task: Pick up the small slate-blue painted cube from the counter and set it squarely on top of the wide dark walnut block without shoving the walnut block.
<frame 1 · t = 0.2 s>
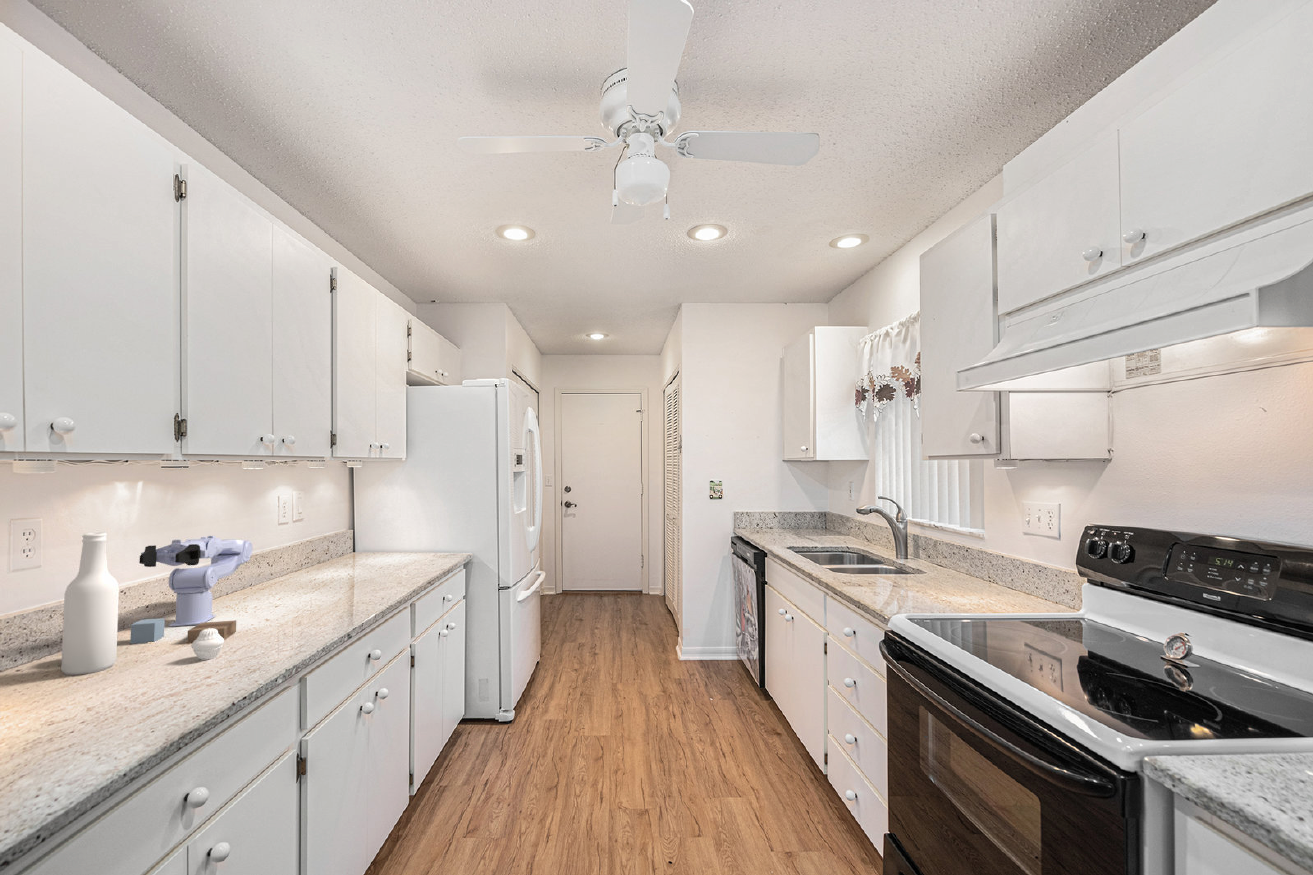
hand: (159, 558, 152), 21 cm above the worktop, tool horizontal, fingers open, 7 cm apart
muffin: (207, 658, 138), on the worktop
white bottle: (89, 670, 131), on the worktop
blue cube: (147, 640, 152), on the worktop
walnut base: (212, 638, 155), on the worktop
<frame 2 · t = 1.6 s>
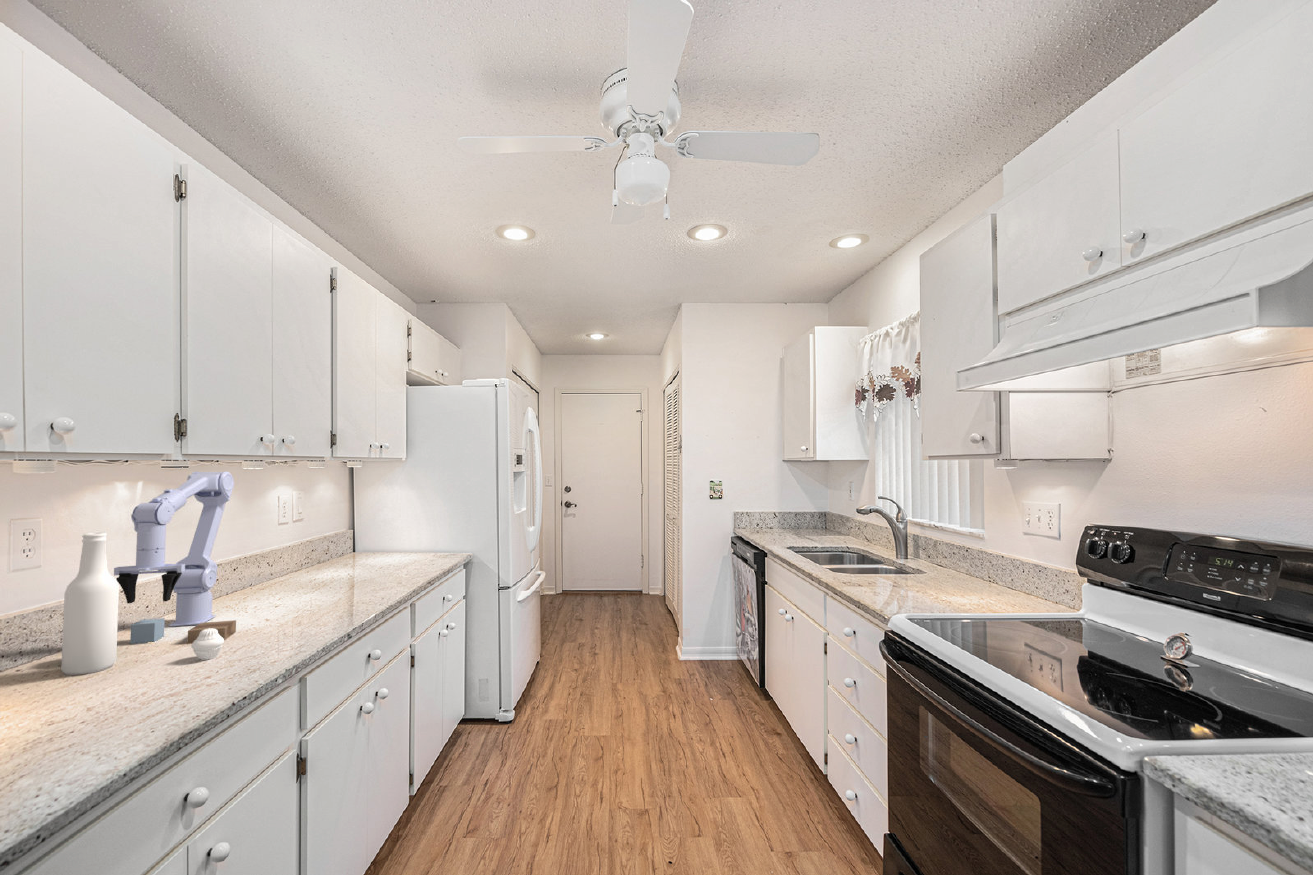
hand: (148, 601, 153), 10 cm above the worktop, tool pointing down, fingers open, 7 cm apart
nothing on the worktop moved.
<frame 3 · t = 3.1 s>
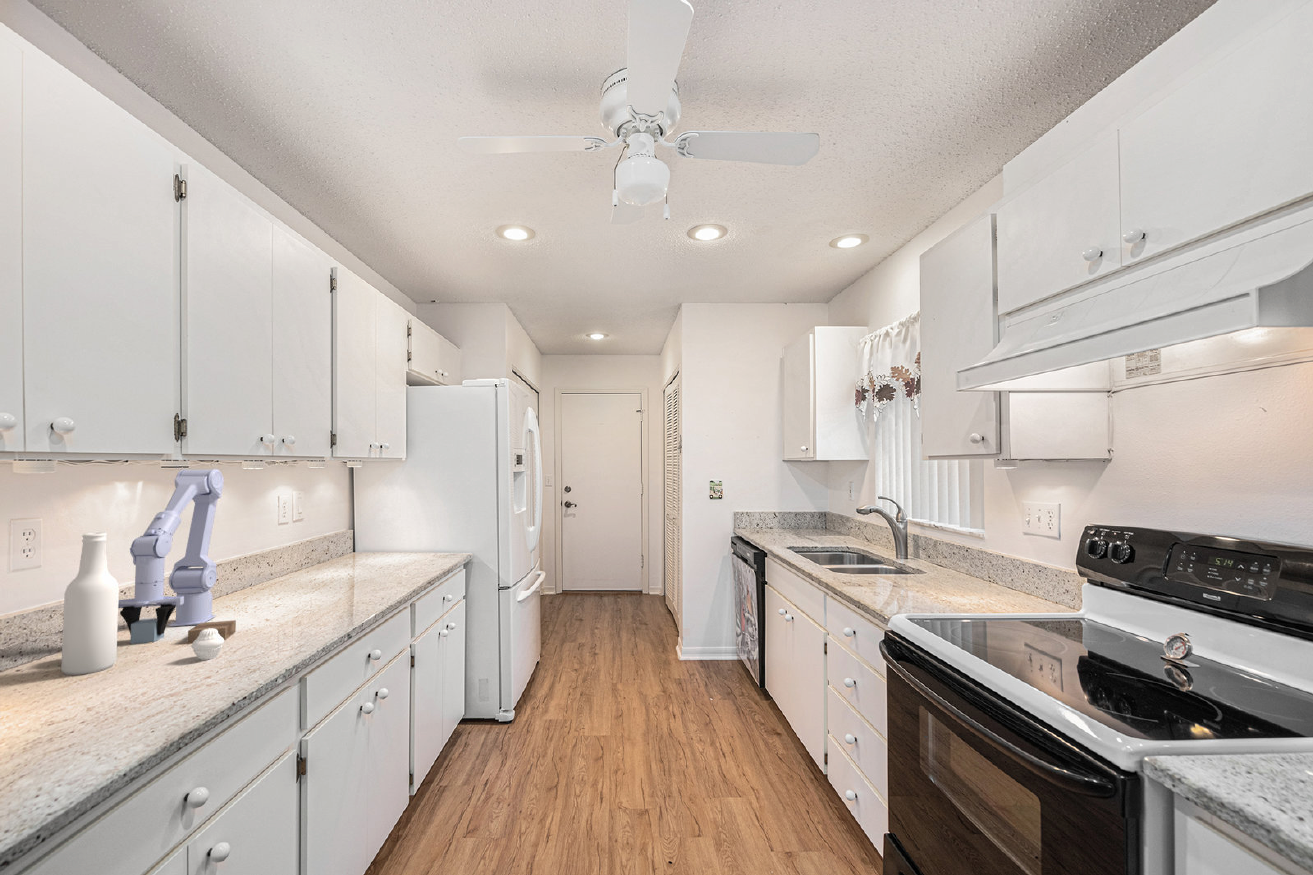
hand: (147, 634, 152), 1 cm above the worktop, tool pointing down, fingers closed on blue cube, 5 cm apart
blue cube: (147, 640, 152), on the worktop, touching gripper
everything else where it was.
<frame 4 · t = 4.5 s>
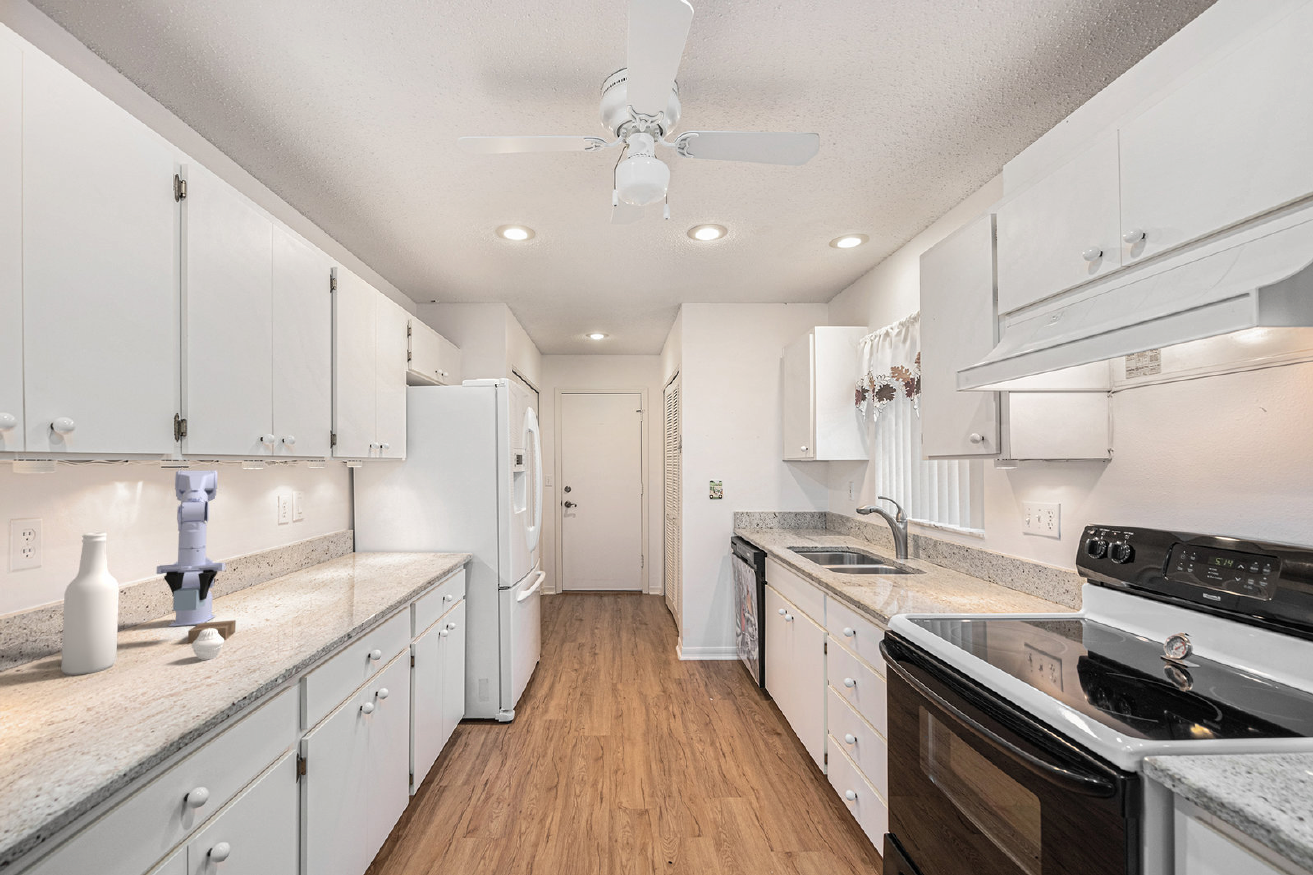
hand: (190, 600, 154), 10 cm above the worktop, tool pointing down, fingers closed on blue cube, 5 cm apart
blue cube: (189, 608, 154), point 8 cm above the worktop, touching gripper
everything else where it was.
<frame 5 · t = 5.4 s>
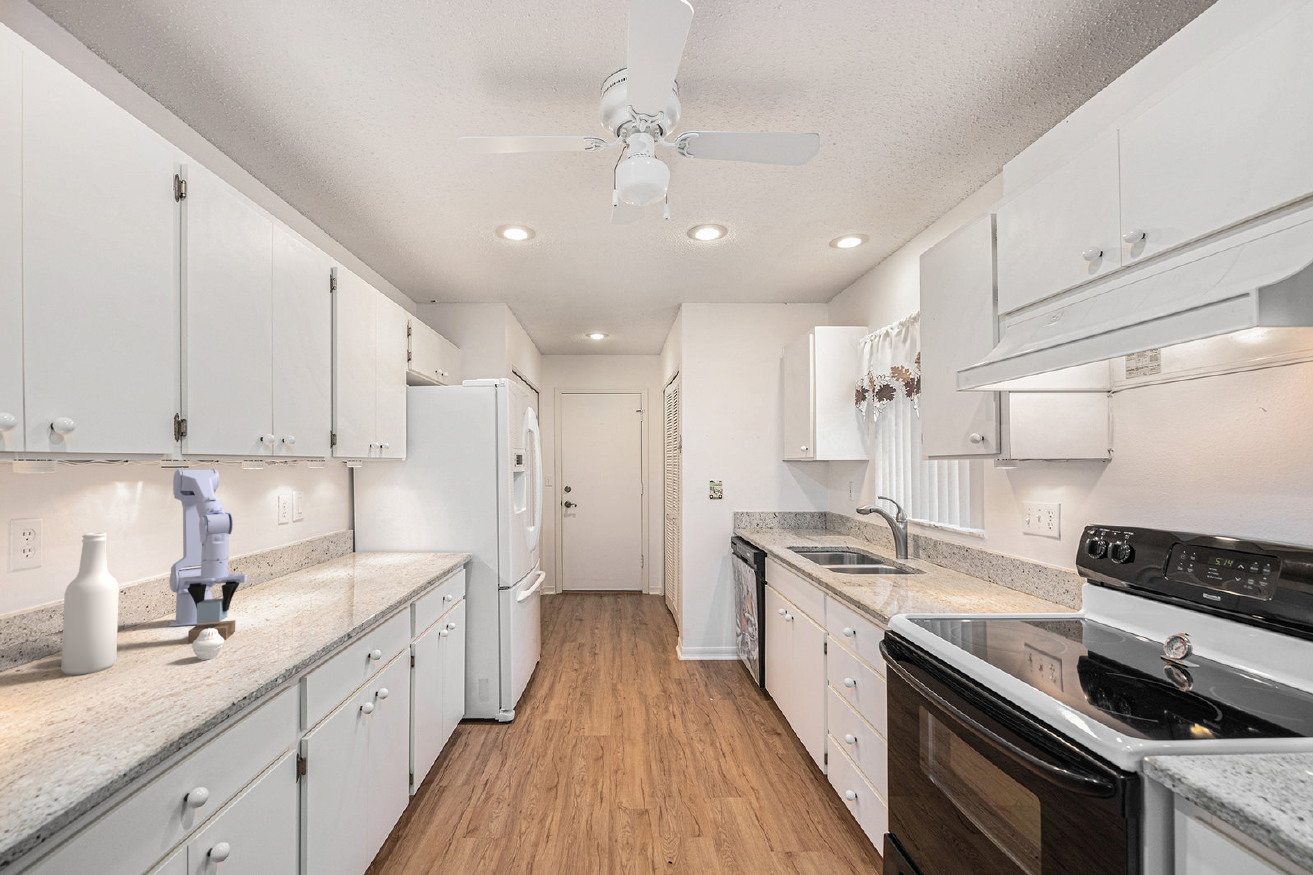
hand: (213, 611, 155), 7 cm above the worktop, tool pointing down, fingers closed on blue cube, 5 cm apart
blue cube: (212, 620, 154), point 5 cm above the worktop, touching gripper
everything else where it was.
when the fingers open (6 cm above the worktop, at t = 6.1 s): blue cube stays where it is, point 3 cm above the worktop.
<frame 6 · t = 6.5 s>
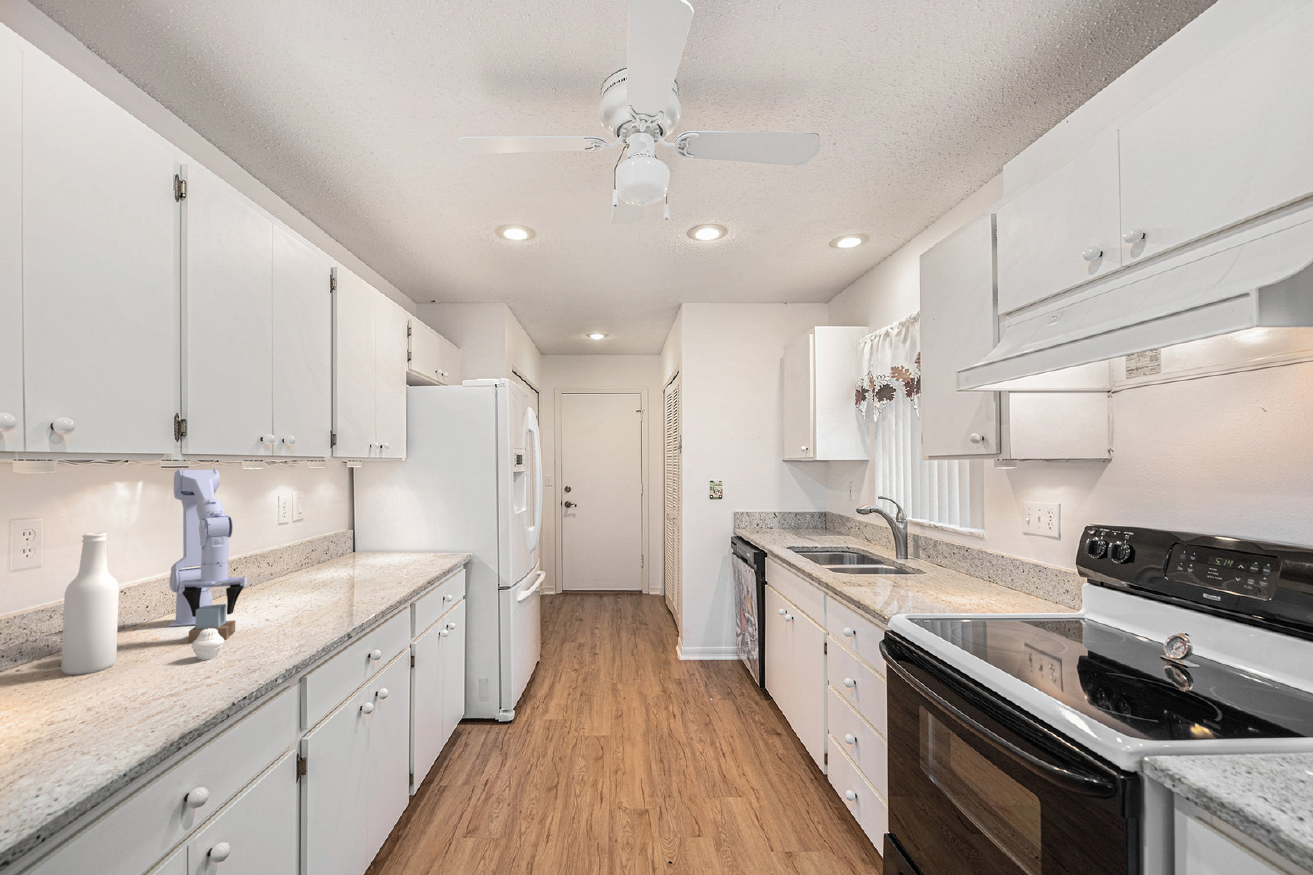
hand: (213, 614, 155), 6 cm above the worktop, tool pointing down, fingers open, 7 cm apart
blue cube: (210, 626, 154), point 3 cm above the worktop
everything else where it was.
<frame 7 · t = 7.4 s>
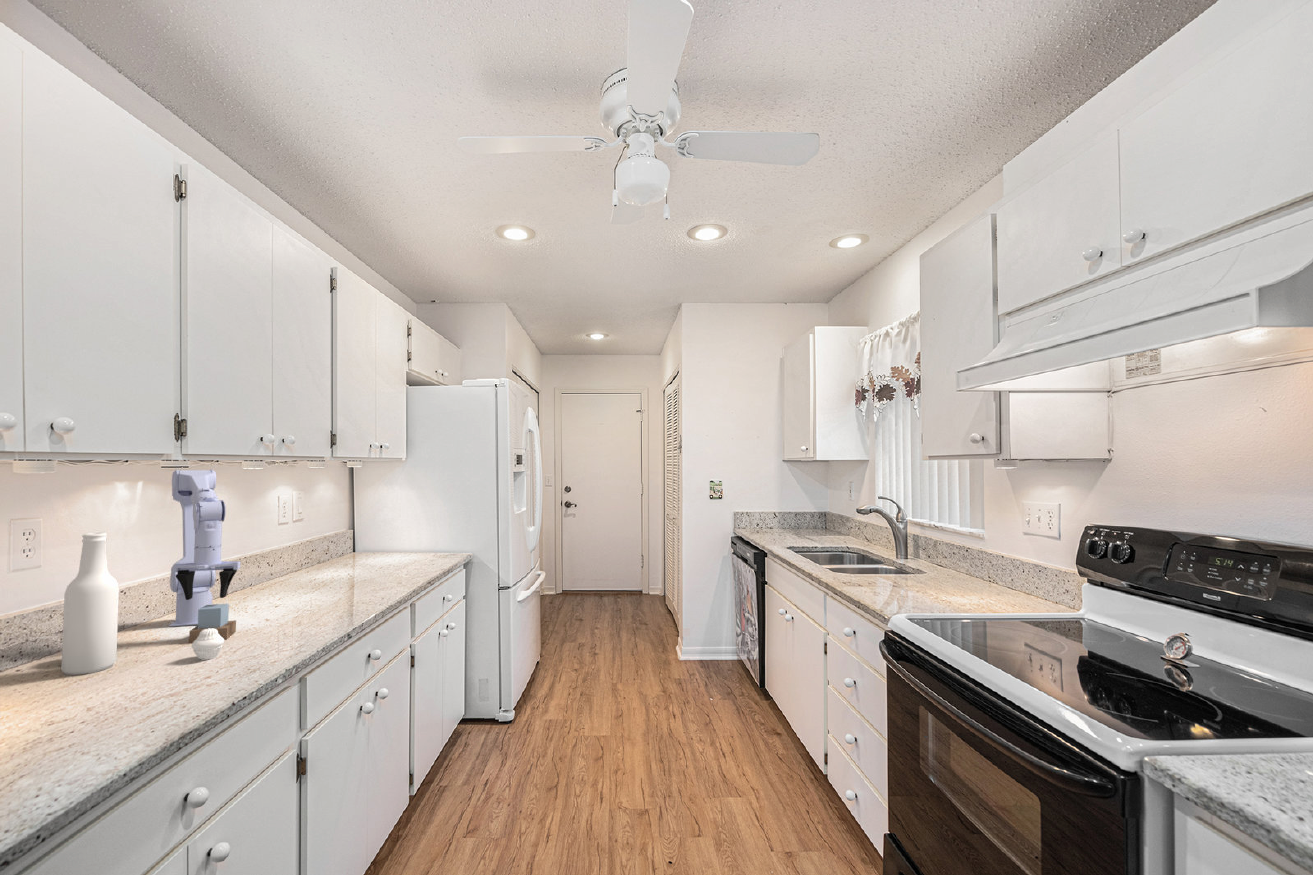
hand: (206, 598, 156), 10 cm above the worktop, tool pointing down, fingers open, 7 cm apart
blue cube: (213, 625, 155), point 3 cm above the worktop, touching walnut base
walnut base: (213, 639, 155), on the worktop, touching blue cube
everything else where it was.
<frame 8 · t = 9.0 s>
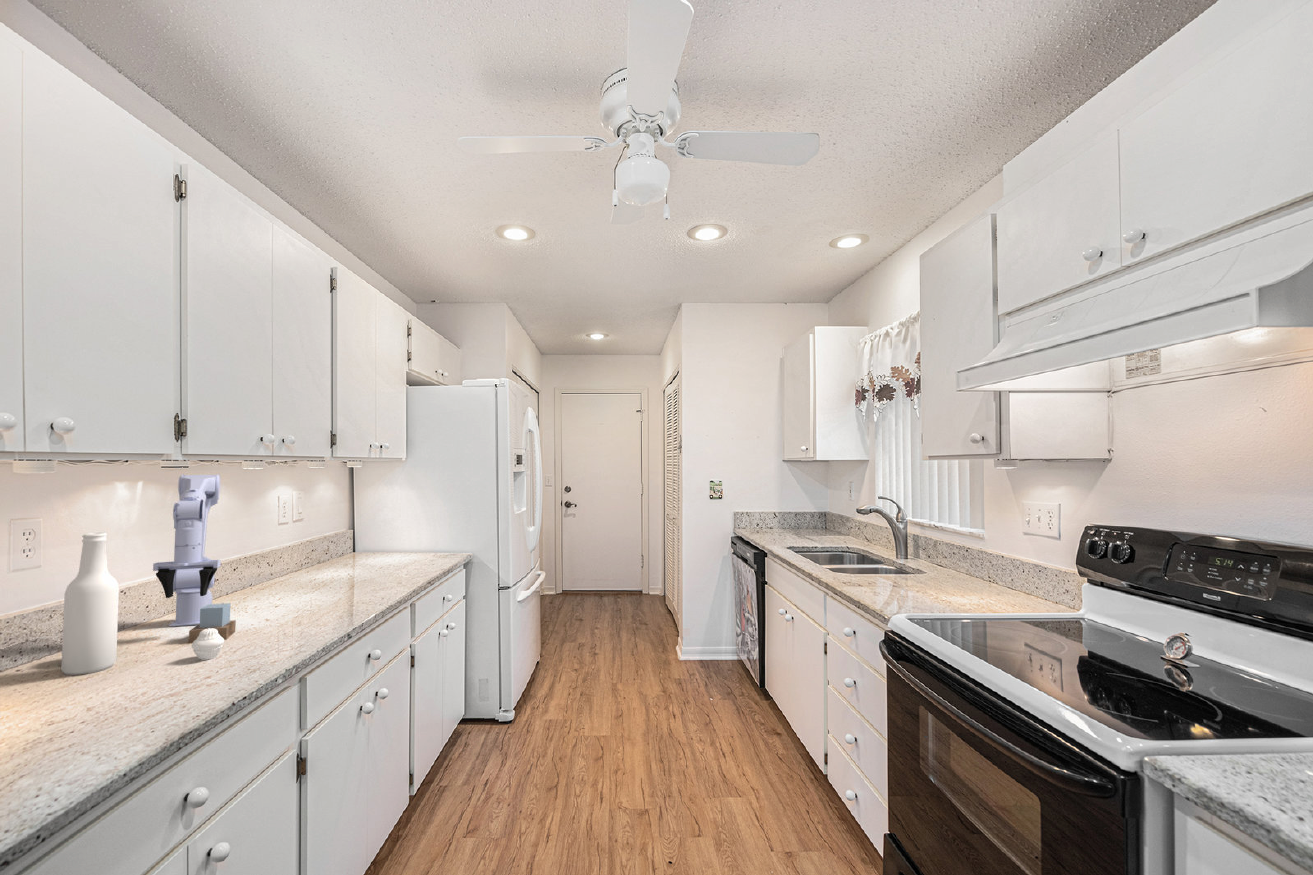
hand: (186, 596, 157), 10 cm above the worktop, tool pointing down, fingers open, 7 cm apart
nothing on the worktop moved.
at the end: blue cube 0.4 cm off-centre on the walnut base, point 3.5 cm above the walnut base's base; blue cube tilted 1°; walnut base moved 0.6 cm from its start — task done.
